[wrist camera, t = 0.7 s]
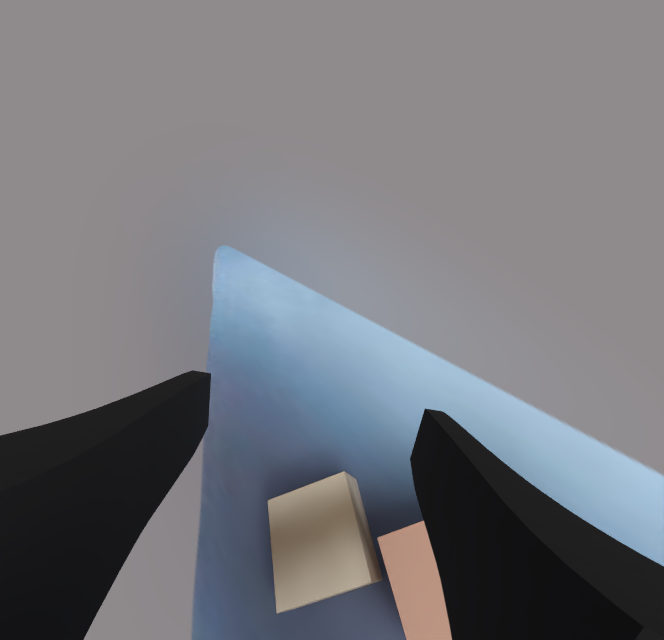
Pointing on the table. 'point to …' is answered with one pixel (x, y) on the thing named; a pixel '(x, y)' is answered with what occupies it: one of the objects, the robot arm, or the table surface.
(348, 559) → the birch base block
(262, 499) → the table surface
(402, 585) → the terracotta cube
